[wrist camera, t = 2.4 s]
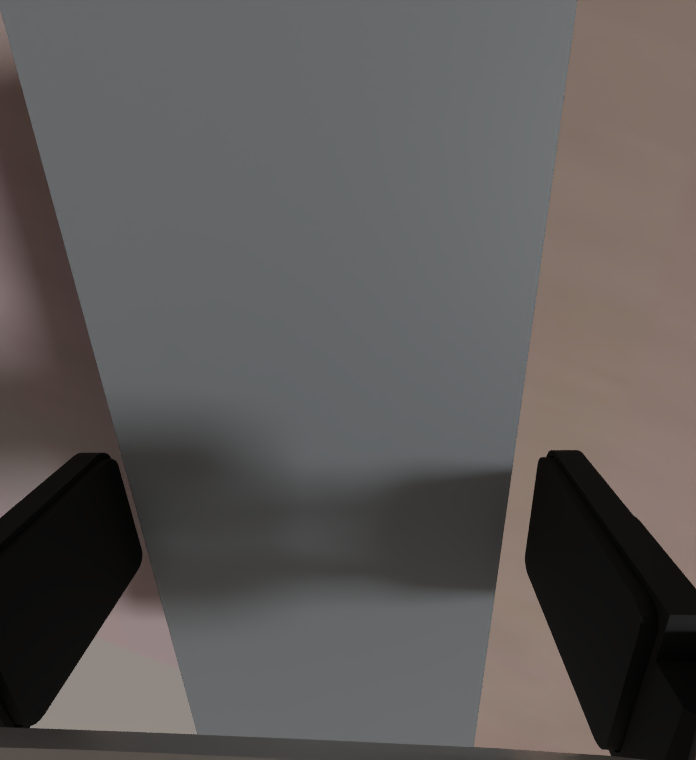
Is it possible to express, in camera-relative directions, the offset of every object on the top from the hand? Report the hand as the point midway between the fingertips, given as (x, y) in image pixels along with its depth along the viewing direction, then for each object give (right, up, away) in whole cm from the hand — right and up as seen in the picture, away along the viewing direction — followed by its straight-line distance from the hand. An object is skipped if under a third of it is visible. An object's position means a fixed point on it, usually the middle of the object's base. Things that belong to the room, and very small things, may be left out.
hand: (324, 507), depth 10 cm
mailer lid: (0, +1, +2) cm, 2 cm away
